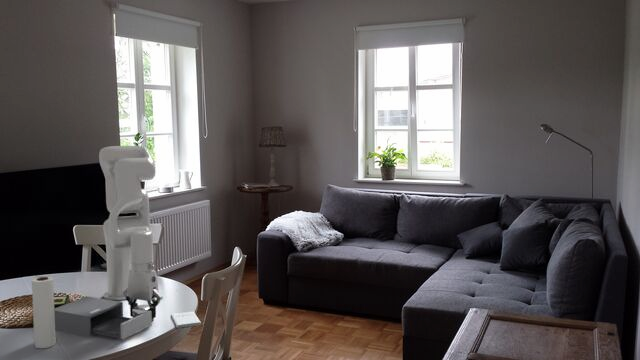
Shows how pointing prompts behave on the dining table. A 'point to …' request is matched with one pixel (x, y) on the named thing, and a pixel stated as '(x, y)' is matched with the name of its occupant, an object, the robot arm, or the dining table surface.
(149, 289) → the robot arm
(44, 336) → the paper towel roll
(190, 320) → the external hard drive
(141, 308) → the disc
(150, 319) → the tray
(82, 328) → the grey drawer box
